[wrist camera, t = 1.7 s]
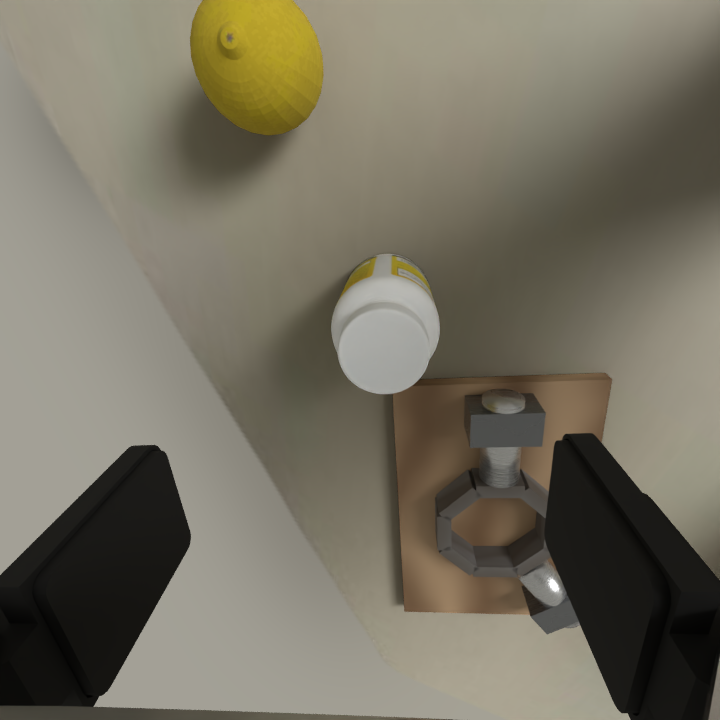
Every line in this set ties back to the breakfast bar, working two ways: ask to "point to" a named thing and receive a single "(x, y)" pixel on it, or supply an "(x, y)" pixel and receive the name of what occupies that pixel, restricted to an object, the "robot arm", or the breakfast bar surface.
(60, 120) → the breakfast bar surface
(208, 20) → the lemon
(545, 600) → the shaft
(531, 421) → the shaft
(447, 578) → the octagonal ring mount
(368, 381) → the supplement bottle
